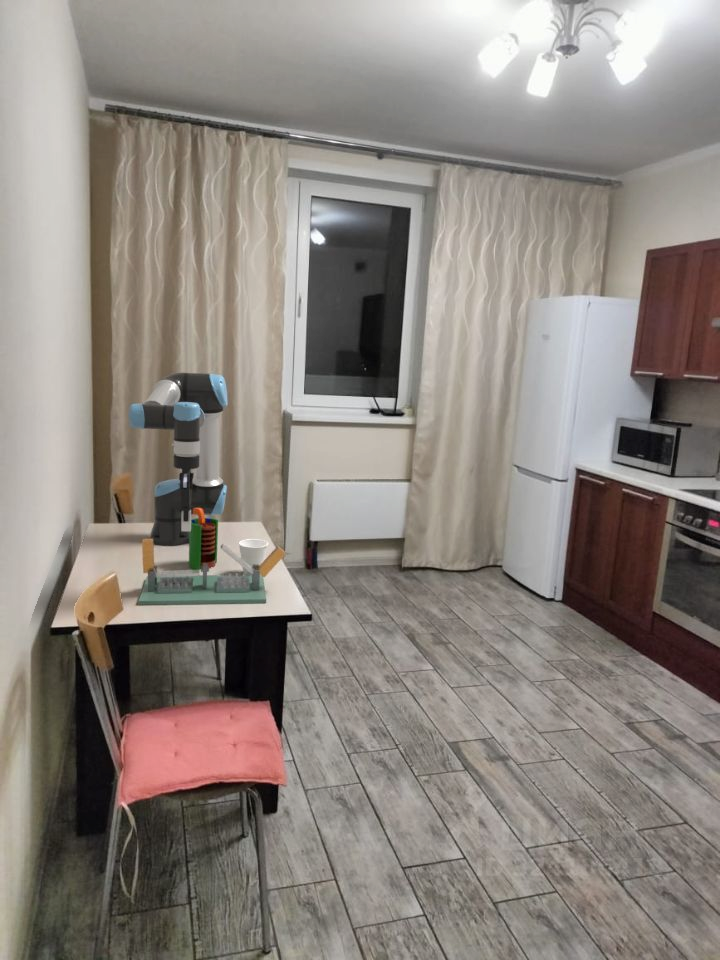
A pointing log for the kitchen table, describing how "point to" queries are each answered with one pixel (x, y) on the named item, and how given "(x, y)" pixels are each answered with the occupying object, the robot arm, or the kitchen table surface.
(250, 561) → the cup
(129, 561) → the kitchen table surface
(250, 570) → the strap
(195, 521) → the motor
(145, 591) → the board
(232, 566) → the kitchen table surface
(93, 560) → the kitchen table surface
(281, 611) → the kitchen table surface
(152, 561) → the strap
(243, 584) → the set of grey blocks
